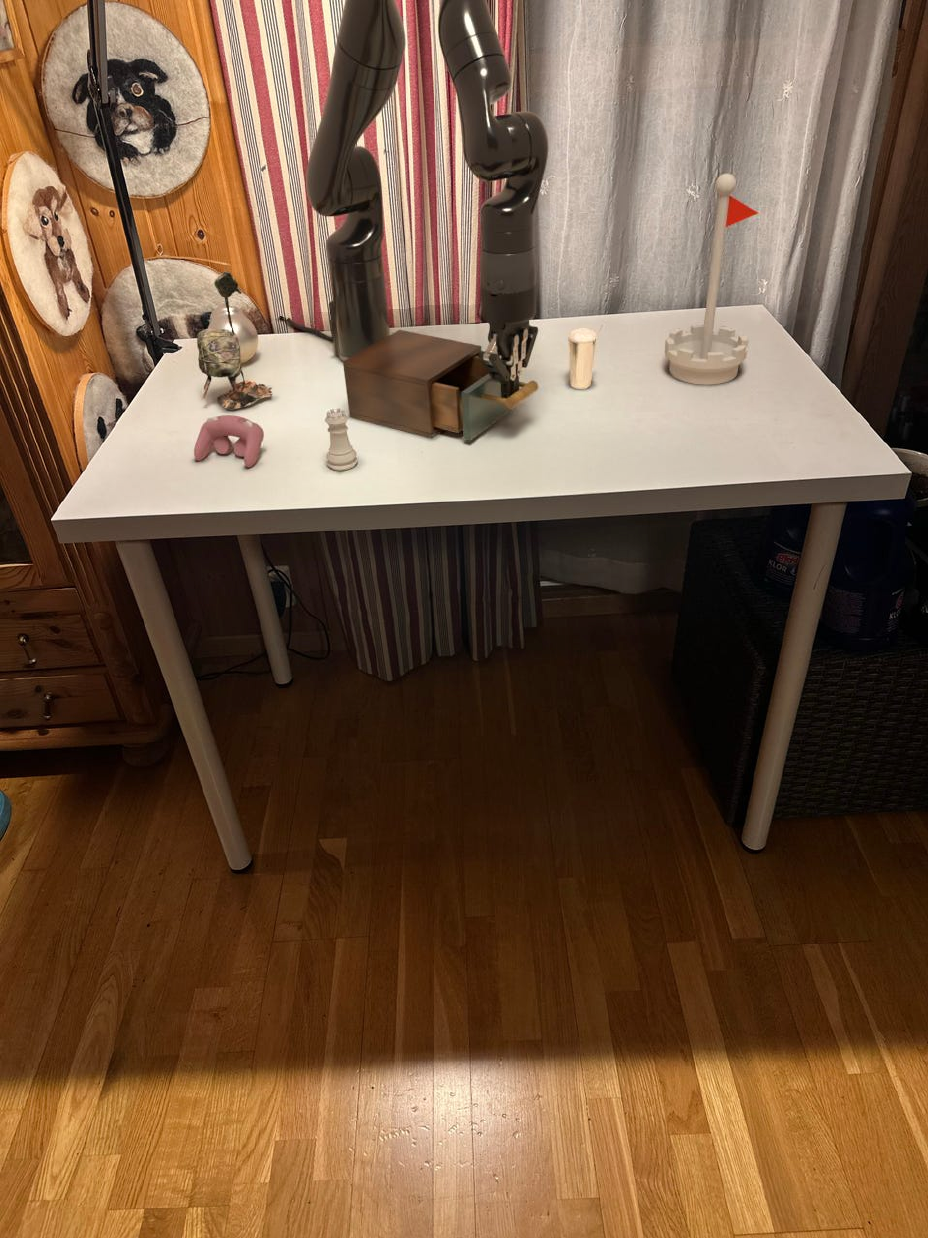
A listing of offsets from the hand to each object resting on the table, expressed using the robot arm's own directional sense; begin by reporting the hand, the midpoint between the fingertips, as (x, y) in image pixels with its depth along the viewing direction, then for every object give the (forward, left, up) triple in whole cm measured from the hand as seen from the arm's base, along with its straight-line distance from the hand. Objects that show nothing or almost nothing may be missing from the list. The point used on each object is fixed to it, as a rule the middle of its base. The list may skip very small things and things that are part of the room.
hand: (510, 401), depth 135 cm
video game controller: (-32, -26, -5) cm, 42 cm away
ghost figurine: (-57, +1, -5) cm, 57 cm away
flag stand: (+17, +34, -5) cm, 38 cm away
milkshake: (+2, +20, -5) cm, 21 cm away
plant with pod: (-45, -11, -5) cm, 47 cm away
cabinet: (-17, 0, -5) cm, 18 cm away
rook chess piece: (-16, -20, -5) cm, 26 cm away
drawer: (-7, 0, -4) cm, 8 cm away
